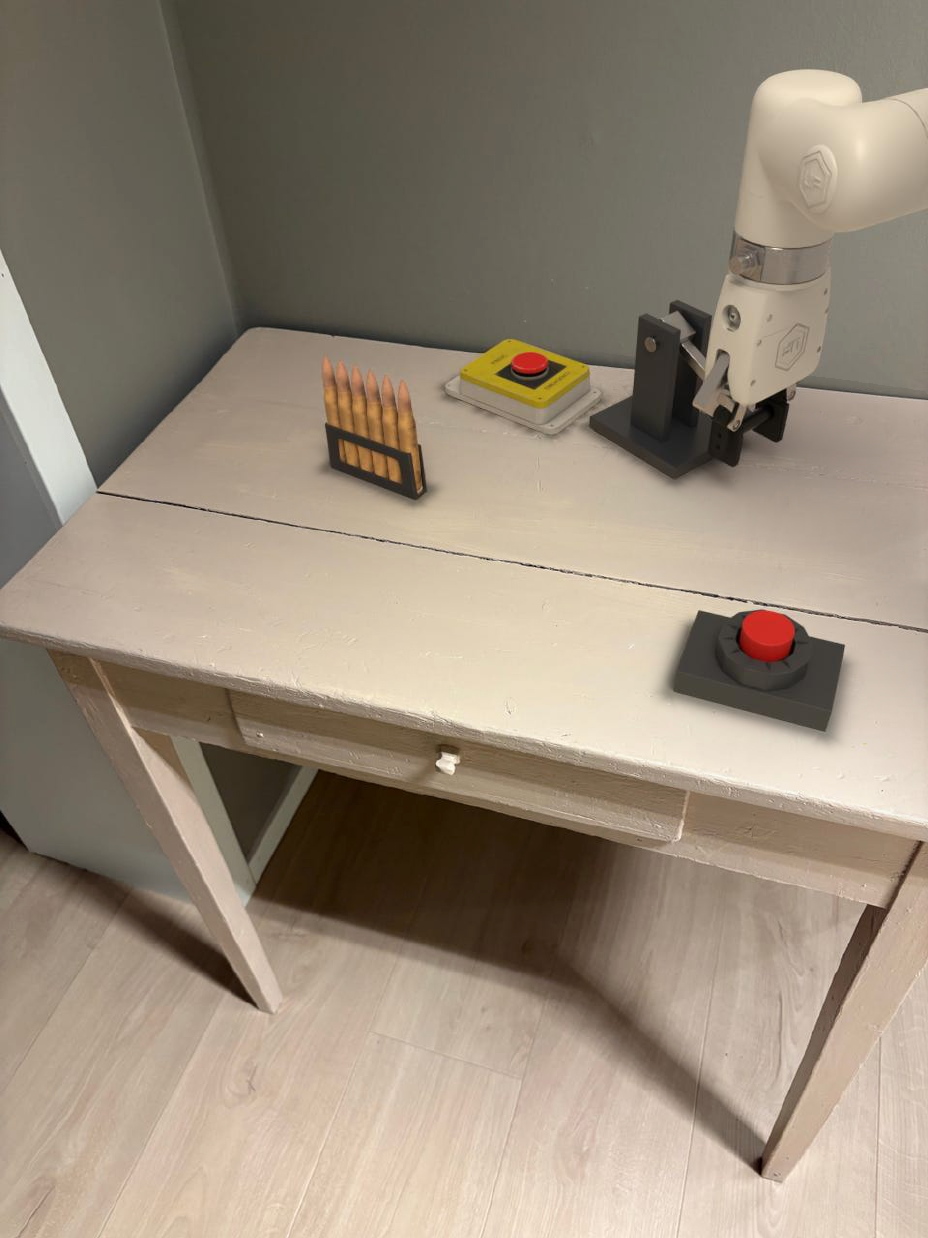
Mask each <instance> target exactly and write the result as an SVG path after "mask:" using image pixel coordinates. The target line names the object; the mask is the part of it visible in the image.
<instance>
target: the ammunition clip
mask: <svg viewBox="0 0 928 1238" xmlns="http://www.w3.org/2000/svg"><path fill="white" fill-rule="evenodd" d="M332 365H333V364H332V363H331V361H330V358H328V355H323V357H322V362H321V379H322V386H323V403H324V410H325V416H326V421H327V422H325V423H324V430H325V436H326V443H327V450H328V456H329V457H328V458H329V465H330V468H331V469H333V470H337V471H339V472H341V473H344V474H346V475H349V476H352V477H355V478H357V479H360V480H362V481H364V482H367V483H370V484H372V485H375V486H378V487H380V488H383V489H386V490H388V491H391V492H393V493H396V494H399V495H401V496H403V497H406V498H409V499H411V500H413V501H416V500H418V499H419V498H420V497H421V496H422V495H423V494H425V493H427V491H428V487H427V479H426V472H425V465H424V458H423V457H424V456H423V450H422V444H420V443H419V441H418V433H417V432H418V431H417V423H416V420H415V417H414V411H413V408H412V400H411V395H410V391H409V389H408V387H407V384H406V382H405V381H404V380H403V379H401V380H400V381H399V385H398V387H397V388H398V389H397V400H396V395H395V389H394V386H393V384H392V381H391V379H390V377H389V376H388V374H384V376H383V378H382V383H381V392H380V388H379V384H378V381H377V378H376V376H375V374H374V372H373V370H372V369H368V371H367V375H366V379H365V383H364V379H363V376H362V374H361V371H360V369H359V368H358V366H357V365H356V364H354V365H353V366H352V369H351V375H350V378H349V373H348V370H347V368H346V366H345V364H344V362H343V360H341V359H339V360H338V361H337V365H336V374H335V370H334V368H333V366H332ZM380 393H381V394H380Z"/></svg>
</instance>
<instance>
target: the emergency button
mask: <svg viewBox="0 0 928 1238" xmlns="http://www.w3.org/2000/svg"><path fill="white" fill-rule="evenodd" d="M590 371H591V370H590V366H589V364H585V363H583V362H580V361H577V360H574V359H571V358H569V357H566V356H564V355H560V354H557V353H554V352H552V351H549V350H545V349H543V348H540V347H537V346H534V345H531V344H529V343H526V342H523V341H520V340H518V339H513V338H507V339H505V340H502V341H501V342H499V343H498V344H496V345H495V346H493V347H492V348H490V349H489V350H487V351H486V352H484V353H482V354H480V355H479V356H478V357H476V358H475V359H473V360H472V361H470V362H469V363H467V364H466V365H464V366H462V368H460V372H459V373H460V374H458V375H456V377H454V378H452V379H451V380H449V381H448V382H446V383H445V384H444V390H445V394H447V395H448V396H450V397H453V398H456V399H458V400H460V401H462V402H465V403H468V404H470V405H473V406H475V407H477V408H481V409H482V410H485V411H488V412H490V413H492V414H494V415H497V416H500V417H502V418H505V419H507V420H510V421H513V422H514V423H516V424H517V423H518V424H520V425H521V426H525V427H527V428H530V429H532V430H535V431H537V432H539V433H542V434H545V435H550V436H551V435H557V434H559V433H560V432H561V431H563V430H565V428H567V427H568V426H569V425H570V424H572V423H573V422H575V421H576V420H578V418H580V417H581V416H582V415H584V414H585V413H587V412H588V411H589V410H590V409H592V408H593V407H594V406H596V405H597V404H598V403H599V402H601V400H602V392H601V390H600V389H598V388H596V387H594V386H592V385H591V377H590V375H591V372H590Z"/></svg>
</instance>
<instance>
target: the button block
mask: <svg viewBox="0 0 928 1238" xmlns="http://www.w3.org/2000/svg"><path fill="white" fill-rule="evenodd" d="M763 610H764V609H763V608H761V609H752V610H745V611H738V612H737V613H735V614H734V615H732V616H731V617H730V616H725V615H722V614H718V613H713V612H709V611H705V610H701V609H698V611H697V613H696V616H695V618H694V622H693V624H692V627H691V629H690V632H689V635H688V638H687V640H686V644H685V646H684V650H683V652H682V655H681V657H680V660H679V663H678V666H677V667H676V671H675V677H674V685H673V692H675V693H679V694H683V695H687V696H690V697H693V698H699V699H702V700H706V701H709V702H713V703H716V704H721V705H725V706H728V707H731V708H735V709H739V710H744V711H747V712H751V713H754V714H758V715H762V716H766V717H769V718H774V719H776V720H781V721H785V722H788V723H791V724H792V723H793V724H795V725H800V726H804V727H807V728H811V729H815V730H819V731H821V732H826V731H827V728H828V724H829V722H830V719H831V716H832V713H833V708H834V704H835V698H836V693H837V689H838V683H839V679H840V675H841V668H842V665H843V664H842V663H843V658H844V654H845V649H846V644H844V643H840V642H835V641H832V640H828V639H823V638H818V637H815V636H811V635H809V634H808V632H807V630H806V628H805V627H804V625H802V624H801V623H799V622H797V621H796V620H794V619H793V618H791V617H790V616H788V614H785V613H781V614H782V615H783V616H785V617H786V618H788V619H789V620H790V621H791V622H792V624H793V626H794V629H795V633H794V637H793V641H792V645H791V649H790V652H789V654H788V655H787V656H786V657H785V658H783V659H782V660H779V661H775V662H765V661H761V660H757V659H753V658H751V657H749V656H748V655H747V654H745V653H744V651H743V650H742V649H741V647H740V643H739V640H740V635H741V630H742V625H743V621H744V619H745V618H746V617H747V616H748V615H749V614H751V613H753V612H756V611H763Z"/></svg>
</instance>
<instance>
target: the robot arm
mask: <svg viewBox="0 0 928 1238" xmlns="http://www.w3.org/2000/svg"><path fill="white" fill-rule="evenodd" d="M925 210H928V87H925V88H920V89H915V90H912V91H908V92H905V93H904V92H903V93H900V94H896V95H892V96H887V97H884V98H881V99H878V100H872V101H871V100H870V101H866V102H863V93H862V90H861V88H860V86H859V84H858V83H857V82H856V81H855V80H854V79H853V78H851V77H850V76H849V75H845V74H842V73H840V72H836V71H833V70H832V71H831V70H826V69H813V68H812V69H808V68H807V69H793V70H788V71H783V72H779V73H776V74H773V75H771V76H768V78H766V79H765V80H764V81H762V82H761V83H760V85H759V86H758V87H757V89H756V91H755V93H754V95H753V97H752V101H751V106H750V110H749V118H748V126H747V131H746V139H745V146H744V154H743V160H742V167H741V175H740V181H739V188H738V195H737V202H736V210H735V216H734V224H733V231H732V237H731V246H730V253H729V257H728V259H729V260H728V265H727V266H728V268H727V270H728V273H727V274H726V275H725V278H724V282H723V284H722V287H721V290H720V294H719V297H718V302H717V304H716V309H715V313H714V316H713V319H712V323H711V329H710V336H709V344H708V350H707V357H706V365H705V381H703V385H702V386H701V388H700V390H699V392H698V393H697V395H696V397H695V398H694V400H693V406H694V407H696V408H697V409H699V411H701V412H703V413H705V414H706V415H707V416H708V418H709V419H711V420H712V425H711V432H710V439H709V445H708V453H709V454H710V455H711V456H713V457H714V458H713V459H716V460H718V461H720V462H721V463H723V464H725V465H727V466H728V467H729V468H735V467H737V466H738V465H739V463H740V460H741V455H742V454H741V452H742V448H743V441H744V437H745V434H744V431H745V428H743V427H742V426H740V425H741V422H742V420H743V417H744V414H745V411H746V409H747V407H750V406H752V405H754V410H755V409H757V408H759V407H761V406H763V405H765V404H768V405H770V406H771V407H772V408H773V410H774V417H773V418H772V419H770V420H769V421H767V422H765V423H763V424H761V425H759V426H758V427H756V428H754V429H752V430H751V431H752V432H754V433H756V434H757V435H759V436H761V437H763V438H765V439H767V440H769V441H771V442H773V443H776V444H777V443H779V442H782V441H783V439H784V433H785V429H786V425H787V421H788V415H789V410H790V403H791V402H792V401H793V400H795V397H796V395H797V385H798V384H799V383H800V381H802V380H803V379H805V378H807V377H808V376H810V375H811V374H813V372H814V371H815V370H816V369H817V368H818V366H819V362H820V360H821V356H822V355H821V354H822V350H823V345H824V340H825V333H826V328H827V323H828V315H829V308H830V301H831V300H830V299H831V287H832V266H831V262H830V257H831V252H832V249H833V244H834V240H835V234H836V233H840V234H841V233H850V232H856V231H859V230H862V229H866V228H869V227H873V226H875V225H879V224H882V223H886V222H890V221H892V220H895V219H898V218H900V217H904V216H906V215H910V214H913V213H917V212H920V211H925ZM727 397H729V398H731V399H733V400H734V401H736V402H735V404H734V407H733V410H732V413H731V412H730V411H729V410H728V409H727V408H726V407H725V406H724V405H725V402H726V400H727Z"/></svg>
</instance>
